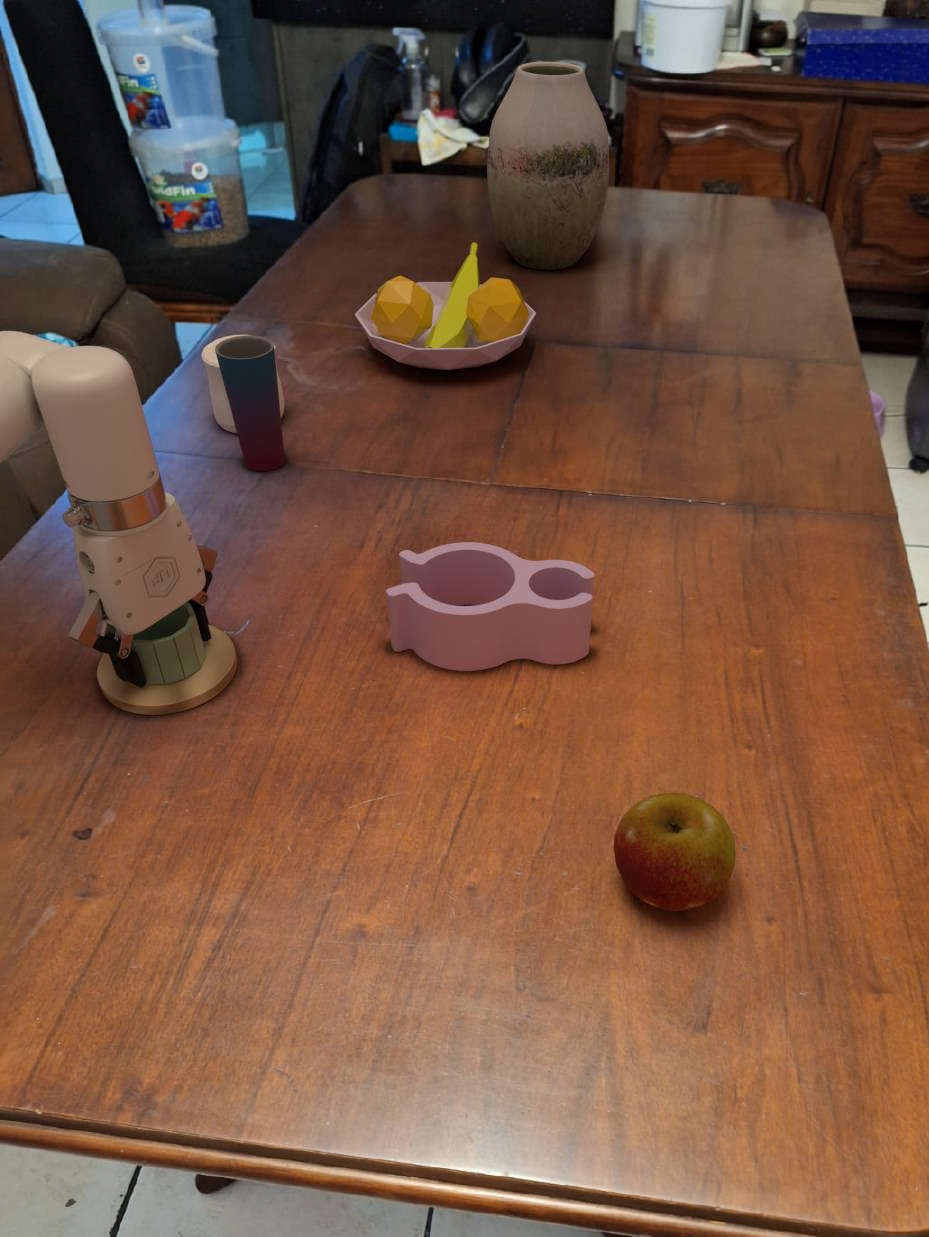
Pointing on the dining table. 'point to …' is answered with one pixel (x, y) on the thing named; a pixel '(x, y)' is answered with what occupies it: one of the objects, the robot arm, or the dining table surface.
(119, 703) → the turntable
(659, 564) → the dining table surface
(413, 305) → the fruit bowl
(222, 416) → the cup
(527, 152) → the vase
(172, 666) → the green mug
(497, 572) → the clip
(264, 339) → the cup
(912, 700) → the dining table surface
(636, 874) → the fruit
